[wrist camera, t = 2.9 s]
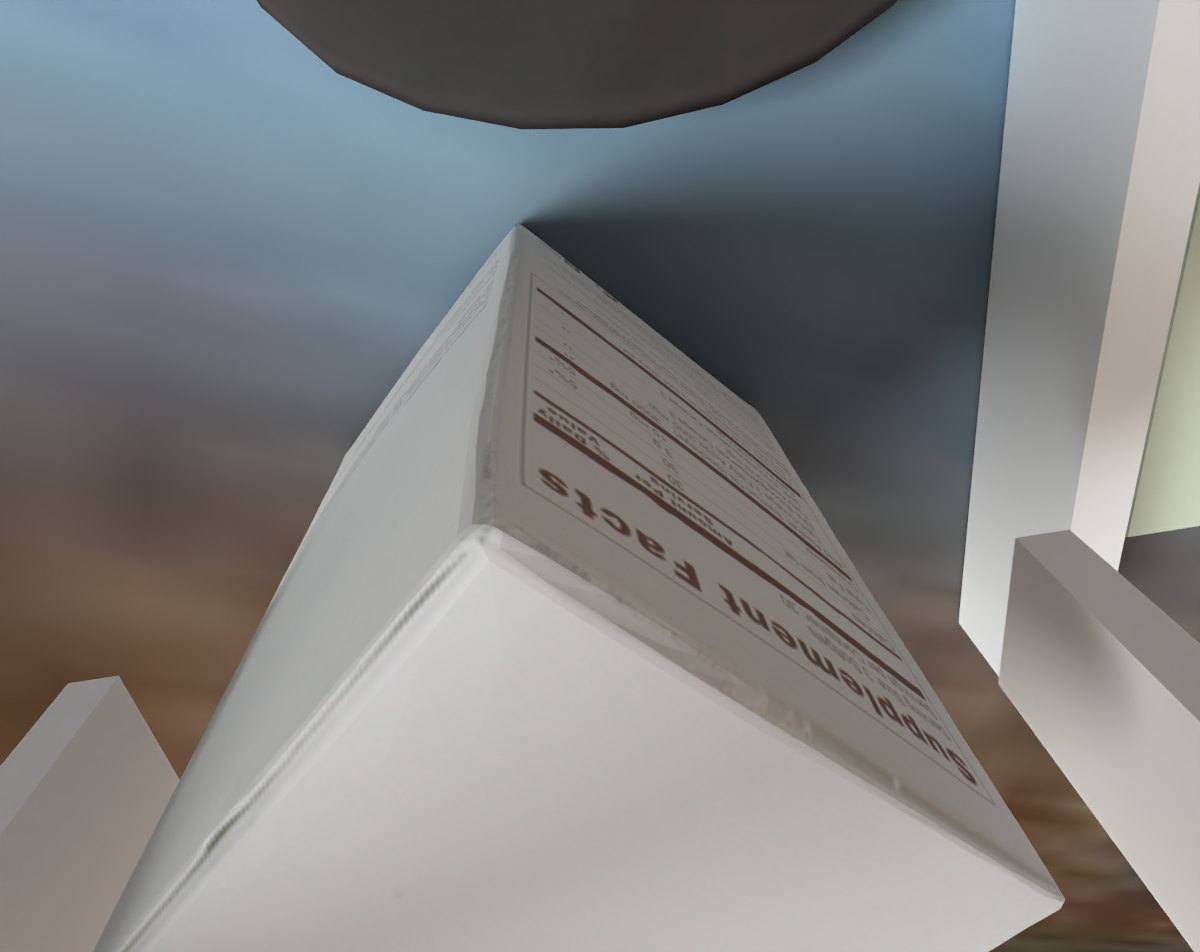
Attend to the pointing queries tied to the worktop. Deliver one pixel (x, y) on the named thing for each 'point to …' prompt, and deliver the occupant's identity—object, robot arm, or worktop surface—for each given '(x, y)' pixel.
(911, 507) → the worktop surface
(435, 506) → the supplement box
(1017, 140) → the acrylic wall
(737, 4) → the casserole
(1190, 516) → the sage mat
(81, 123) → the worktop surface
